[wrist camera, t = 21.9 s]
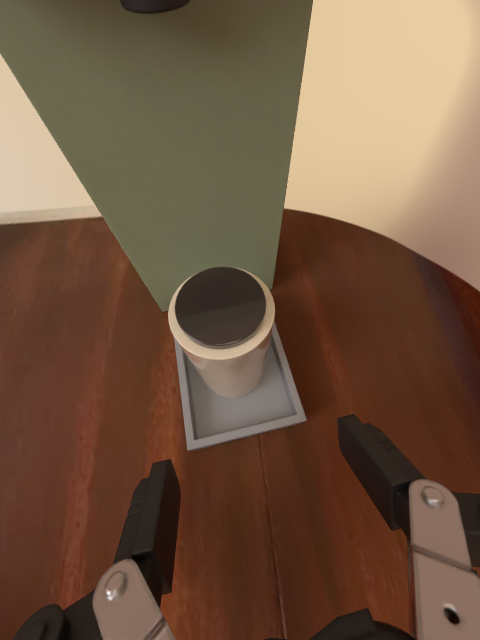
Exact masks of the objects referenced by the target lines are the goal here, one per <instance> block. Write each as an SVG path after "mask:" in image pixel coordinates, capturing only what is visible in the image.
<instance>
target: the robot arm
mask: <svg viewBox="0 0 480 640" xmlns="http://www.w3.org/2000/svg"><path fill="white" fill-rule="evenodd" d="M337 423H338V437H339V446H340V449H341V452H342V454H343V456H344V458H345V459H346V461H347V462H348V464H349V466H350V467H351V469H352V470H353V472H354V473H355V475H356V476H357V478H358V479H359V481H360V483H361V484H362V486H363V487H364V489H365V490H366V492H367V493H368V495H369V496H370V498H371V500H372V501H373V503H374V504H375V506H376V507H377V509H378V510H379V512H380V513H381V515H382V517H383V518H384V520H385V521H386V523H387V524H388V526H389V527H390V529H391V530H392V531H393V530H397V529H400V528H401V529H402V530H403V532H404V533H405V535H406V536H407V559H408V587H409V634H408V633H406V632H404V631H403V630H401V629H399V628H397V627H395V626H392V625H390V624H387V623H384V622H380V621H373V619H372V616H371V614H370V612H369V610H368V608H366V609H363V610H360V611H356V612H353V613H350V614H347V615H343V616H340V617H337V618H335V619H334V620H333V621H332V622H331V623H329V624H328V625H327V626H326V627H324V628H323V629H322V630H321V631H320V632H318V633H317V634H316V635H315V636H313V637H312V638H311V639H309V640H480V579H479V576H478V574H477V572H476V571H474V570H473V569H472V566H475V567H480V494H469V493H456V492H451V491H449V490H448V489H447V488H445V487H444V486H442V485H440V484H439V483H436V482H434V481H431V480H427V479H426V478H425V477H424V476H423V475H422V474H421V473H420V472H419V471H418V470H417V469H416V468H415V466H414V465H413V464H412V463H411V462H410V461H409V460H408V459H407V458H406V457H405V456H404V455H403V454H402V453H401V451H400V450H399V449H398V448H396V446H395V445H394V444H393V443H392V442H391V441H389V439H388V438H387V436H386V435H385V434H384V433H383V432H382V431H381V430H380V429H378V428H376V427H375V426H373V425H371V424H370V423H366V424H362V422H361V421H360V420H359V419H358V418H357V417H356V416H355V415H354V414H352V415H348V416H344V417H340V418H338V419H337ZM180 499H181V493H180V485H179V482H178V479H177V476H176V473H175V470H174V467H173V464H172V461H171V460H170V459H168V460H164V461H160V462H156V463H153V465H152V467H151V472H150V476H149V478H145V479H142V480H141V482H140V483H139V485H138V486H137V488H136V489H135V491H134V494H133V497H132V501H131V506H130V507H129V511H128V514H127V515H128V517H127V518H126V521H125V525H124V528H123V532H122V535H121V539H120V542H119V546H118V549H117V553H116V556H115V560H114V563H113V565H112V566H111V567H110V568H109V569H108V570H107V571H106V572H105V573H104V575H103V576H102V577H101V579H100V580H99V582H98V584H97V586H96V588H95V589H94V590H93V591H92V592H91V593H89V594H88V595H86V596H85V597H83V598H82V599H80V600H79V601H77V602H76V603H74V604H72V605H71V606H69V607H68V608H66V609H65V610H62V609H61V607H60V606H58V605H56V604H51V605H48V606H45V607H43V608H42V609H40V610H38V611H37V612H36V613H34V614H33V615H32V616H31V617H30V618H29V619H28V620H27V621H26V622H25V623H24V624H23V626H22V627H21V628H20V630H19V631H18V632H17V634H16V635H15V637H14V639H13V640H176V639H175V637H174V635H173V633H172V631H171V629H170V627H169V625H168V623H167V622H166V620H165V618H164V616H163V614H162V613H161V611H160V605H161V597H162V595H164V594H168V593H171V591H172V581H173V571H174V561H175V550H176V540H177V530H178V520H179V509H180ZM265 640H288V639H278V638H268V639H265Z"/></svg>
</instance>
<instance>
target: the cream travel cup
mask: <svg viewBox="0 0 480 640" xmlns="http://www.w3.org/2000/svg"><path fill="white" fill-rule="evenodd" d="M274 317H275V305H274V300H273V297H272V295H271V292H270V291H269V289H268V287H267V286H266V285H265V284H264V282H263V281H261V280H260V279H259V278H258V277H257V276H255V275H254V274H252V273H250V272H248V271H246V270H243V269H240V268H236V267H227V266H221V267H213V268H209V269H205V270H202V271H200V272H198V273H196V274H194V275H192V276H191V277H189V278H188V279H187V280H185V281H184V282H183V283H182V284H181V285H180V286H179V288H178V289H177V290H176V292H175V294H174V295H173V297H172V300H171V302H170V306H169V312H168V320H169V326H170V329H171V332H172V334H173V336H174V337H175V339H176V340H177V342H178V343H179V345H180V347H181V348H182V350H183V351H184V353H185V354H186V356H187V357H188V359H189V360H190V362H191V363H192V365H193V366H194V368H195V369H196V371H197V372H198V374H199V375H200V377H201V378H202V380H203V381H204V383H205V384H206V386H207V387H208V388H209V389H210V390H211V391H212V392H214V393H215V394H217V395H219V396H222V397H225V398H238V397H242V396H245V395H247V394H249V393H250V392H252V391H253V390H254V389H255V388H256V387H257V386H258V385H259V383H260V382H261V380H262V378H263V375H264V370H265V365H266V360H267V354H268V349H269V344H270V338H271V333H272V328H273V323H274Z"/></svg>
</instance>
